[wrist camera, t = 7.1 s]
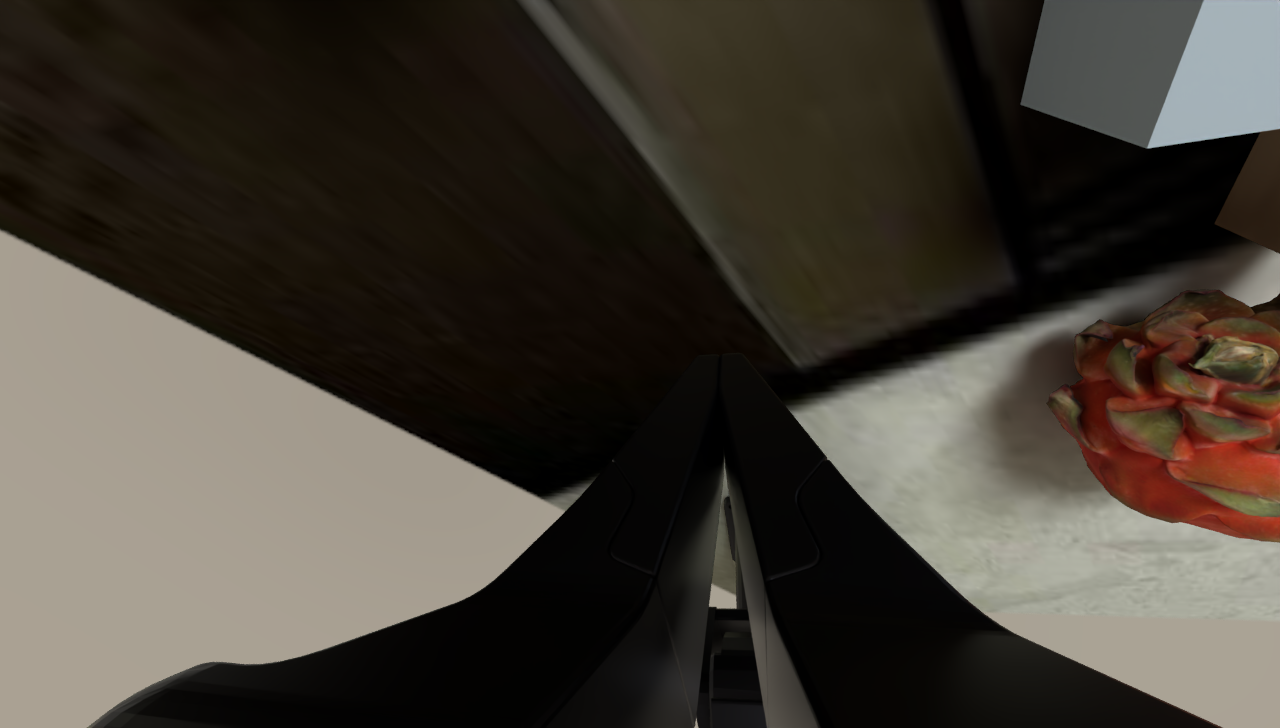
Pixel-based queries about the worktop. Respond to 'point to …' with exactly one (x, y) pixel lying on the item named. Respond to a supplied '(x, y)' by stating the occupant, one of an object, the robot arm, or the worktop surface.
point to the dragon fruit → (1184, 412)
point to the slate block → (1158, 68)
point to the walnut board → (1257, 195)
